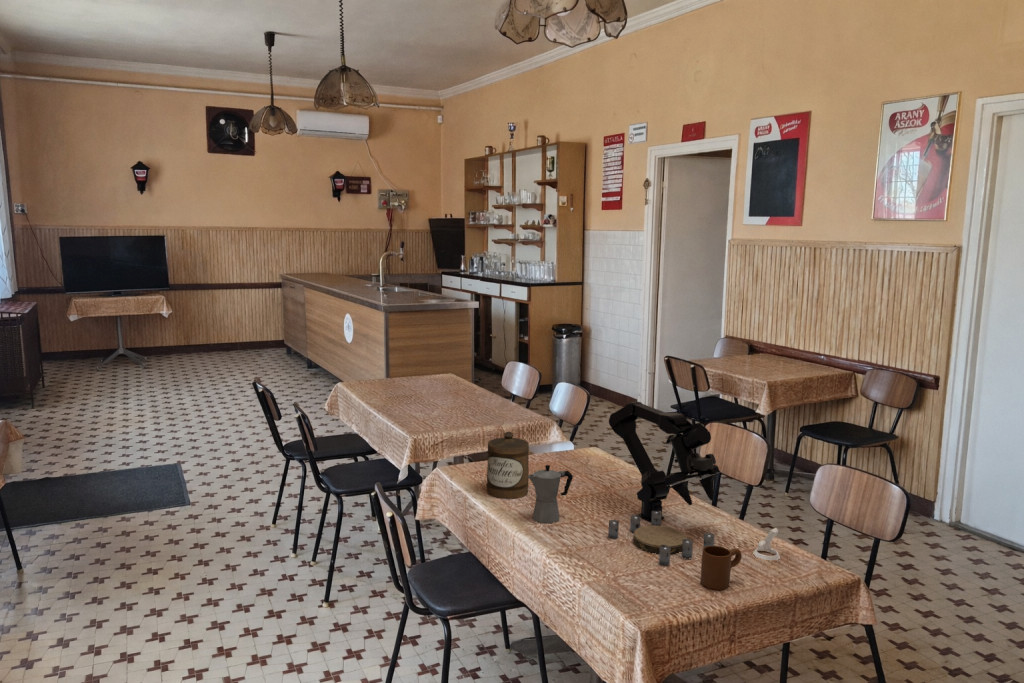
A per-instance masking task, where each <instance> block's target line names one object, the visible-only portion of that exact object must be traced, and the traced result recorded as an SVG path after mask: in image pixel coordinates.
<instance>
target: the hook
mask: <svg viewBox="0 0 1024 683" xmlns="http://www.w3.org/2000/svg"><path fill="white" fill-rule="evenodd" d="M778 533H779V530H778V528H777V527H775V528H773V529H770V531H769V532H768V534H767V535H766V536H765V538H764V539H763V540H761V541H759V542H758V543H757V548H755V550H754V551H753V553H752V555H753V554H754V555H755V556H756V557H758V558H761V559H764V560H770V561H771V560H778V559H780V560H781V556H780V553H779V552H778V550H776V549H773V548H772V542H773V540H774V538H776V536H777V535H778ZM761 550H763V551H768V552H767V553H769V552H772V553H774V554H773V555H766V554H762V553H761V552H757V551H761ZM772 553H771V554H772ZM775 554H776V555H775Z"/></svg>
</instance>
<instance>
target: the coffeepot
mask: <svg viewBox="0 0 1024 683" xmlns="http://www.w3.org/2000/svg"><path fill="white" fill-rule="evenodd" d="M544 467H545V469H540V470H536V471H534V472H533V473H532V474H531V473H530V474H529V476H528V478H529V480H530V481H531V482H532V485H533V487H534V491H535V495H536V496H535V502H534V508H533V514H532V520H533V521H534V520H535V521H534V522H536V521H537V522H536V523H539V522H540V524H547V523H548V524H554V523H553V522H555V523H557V522H559V521H560V511H559V505H558V504H559V503H558V499H557V498H558V497H557V496H558V494H559V488H560V483H561V478H562V479H563V478H565V477H567V479H566V481H565V482H566V483H565V486H564V489H563V492H560V494H559V495H560V496H562V497H563V496H567V495H568V492H569V490H570V486H571V483H572V480H573V474H572V473H571V472H570V471H569V470H559V471H556V470H554V469H553V470H551V469H550V468H551V465H549V464H546V465H545V466H544ZM556 521H557V522H556Z"/></svg>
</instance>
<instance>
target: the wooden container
mask: <svg viewBox="0 0 1024 683" xmlns="http://www.w3.org/2000/svg"><path fill="white" fill-rule="evenodd" d="M529 446H530V445H529V442H528V441H527V440H525V439H523V438H517V437H514V433H512V432H511V431H506V432H504V434H503V437H498V438H493V439H490V440H489V441H488V442H487V466H486V468H487V472H486V492H488V493H489V494H488V493H487V494H488V495H489V496H491V495H492V497H494V496H495V497H494V498H498V497H499V498H498V499H505V498H512V499H519V498H522V497H525V496H527V495H528V493H529V480H530V479H529V478H528V476H529V475H530V474H529V472H530V471H529V468H530V467H529V466H530V465H529V459H530V458H529V457H530V454H529V451H530V450H529Z"/></svg>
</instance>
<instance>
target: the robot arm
mask: <svg viewBox="0 0 1024 683" xmlns="http://www.w3.org/2000/svg"><path fill="white" fill-rule="evenodd" d="M608 418H609V419H608V424H609V426H610V428H611V429H612V431H613V432H614V433H615V434H616V435H617V436H618V437H620V438H622V440H623V442H624V444H625V446H626V447H627V449H628V452H629V453H630V455H631V457H632V459H633V461H634V464H635V465H636V467H637V470H638V471H639V473H640V476H641V478H640V479H641V480H640V484H641V489H639V490H638V491H637V492H636V496H637V497H636V498H637V500H638V501H641V508H640V513H637V515H639V516H641V518H640V519H644V520H646V521H648V522H650V523H651V519H652V510H655V509H656V510H660V511H661V520H663V519H665V516H664V515H662V514H663V505H662V504H663V501H662V500H666V499H667V498H668V494H670V489H673V490H674V491H675V492H676V493H677V494H678V495H679V496H680V497H681V499H683V501H684V502H686V504H687V505H688V506H692V505H693V501H692V498H691V494H690V490H689V487H688V486H689V479H694V478H699V480H698V481H699V483H700V485H701V486H702V488H703V490H704V492H705V494H706V496H707V498H708V499H709V500H710V501H713V500H714V483H715V479H716V478H717V477H718V474H720V473H721V471H720V469H719V466H718V465H717V464H716V463H717V460H716V457H715V455H714V453H707V454H705V456H704V457H703V456H702V457H700V454H699V453H698V452H695V451H694V450H696V449H698V448H701V447H703V446H705V445H707V444H709V443H710V442H711V440H712V436H711V432H710V431H709V429H708V428H706V427H705V426H703V423H702V422H695V423H694V424H693V423H691V422H690V421H689V420H688V419H687V418H686V416H685V415H684V414H683V413H677V412H664V411H662V410H660V409H657V408H655V407H652V406H650V405H647V404H644V403H642V402H641V401H632V402H629V403H627V404H626V405H624V406H623V407H622V408H620V409H618V410H617V411H615V412H613V413H611V414H610V415H609V417H608ZM639 418H640V419H643V420H645V421H648V422H650V423H653V424H654V425H657V426H658V429H660V430H661V431H662V432H664V433H665V434H667V435H668V438H667V439H666V441H665V444H667V445H669V444H671V445H672V449H673V452H674V455H675V458H676V459H674V460H673V462H674V464H678V467H679V470H680V471H678V472H673V473H671V474H669V475H666V472H665V471H664V470H657V469H656V467H655V466H654V464H653V462H652V460H651V458H650V457H649V454H648V453H647V451H646V449H645V447H644V445H643V442H642V441H641V439H640V437H639V435H638V434H637V422H636V421H637V420H638V419H639Z"/></svg>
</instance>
